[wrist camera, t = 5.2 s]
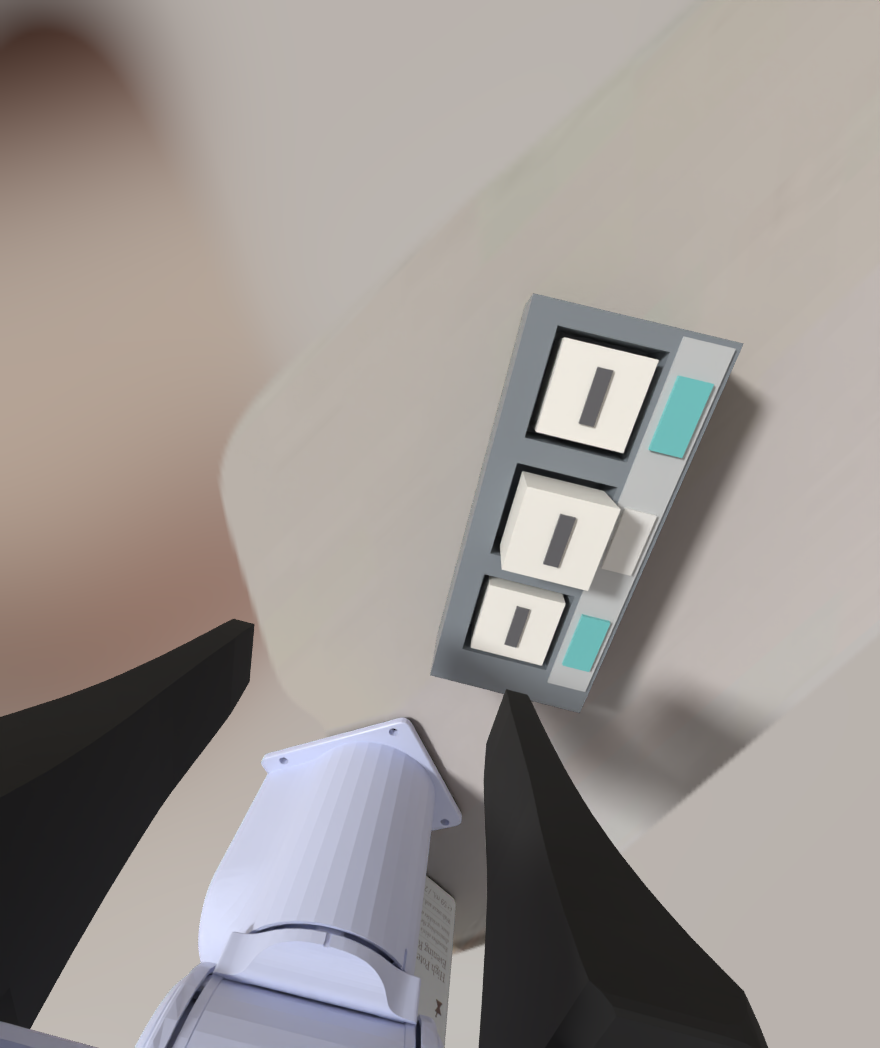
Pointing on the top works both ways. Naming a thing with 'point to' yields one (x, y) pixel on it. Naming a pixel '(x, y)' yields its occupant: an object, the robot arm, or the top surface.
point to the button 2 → (592, 394)
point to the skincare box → (435, 954)
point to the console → (627, 478)
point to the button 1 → (515, 619)
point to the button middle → (557, 530)
